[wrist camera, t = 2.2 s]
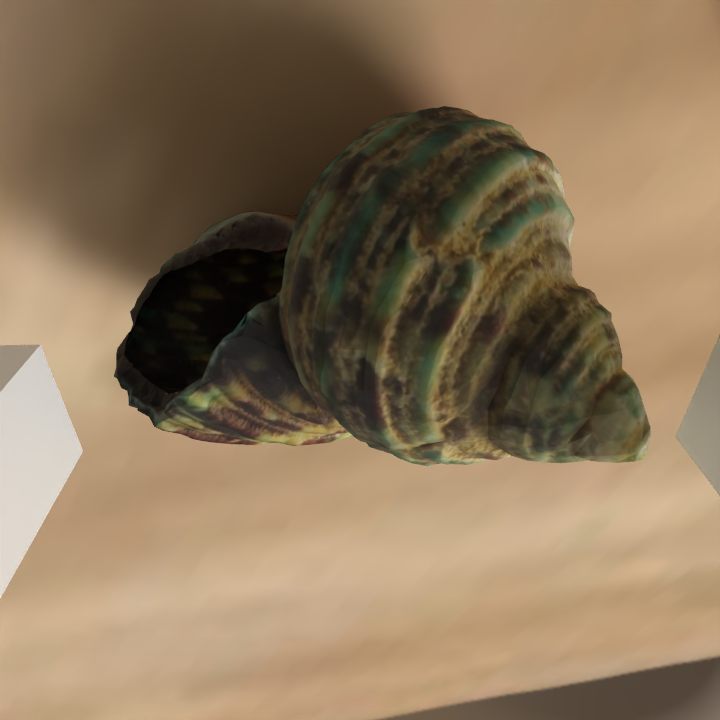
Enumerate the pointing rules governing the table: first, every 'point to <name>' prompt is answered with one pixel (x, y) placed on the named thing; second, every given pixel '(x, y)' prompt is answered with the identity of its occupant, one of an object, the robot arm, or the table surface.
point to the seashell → (393, 312)
